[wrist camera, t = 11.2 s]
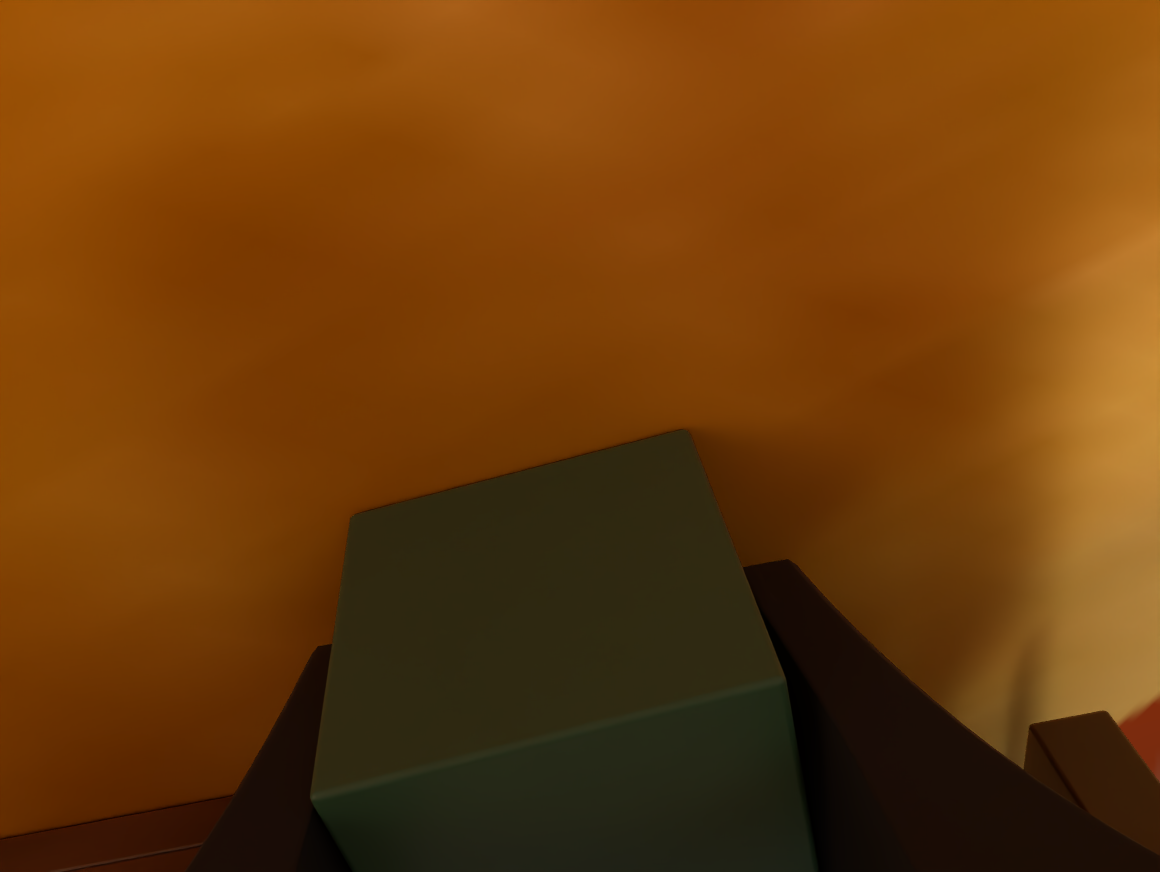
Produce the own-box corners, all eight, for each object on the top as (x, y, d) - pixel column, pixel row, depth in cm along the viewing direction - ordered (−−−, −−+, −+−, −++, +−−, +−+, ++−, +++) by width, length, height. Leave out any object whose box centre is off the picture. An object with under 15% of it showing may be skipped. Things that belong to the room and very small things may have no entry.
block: (739, 672, 15) (836, 956, 11) (451, 744, 15) (451, 1048, 11) (688, 425, 13) (787, 679, 9) (347, 513, 13) (305, 800, 9)
